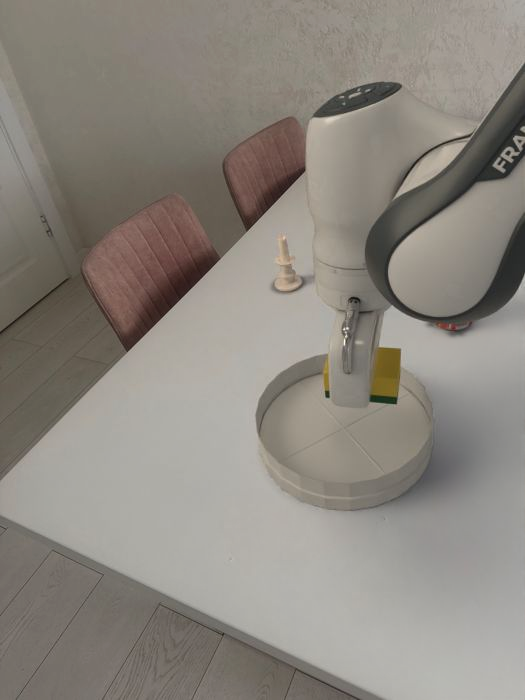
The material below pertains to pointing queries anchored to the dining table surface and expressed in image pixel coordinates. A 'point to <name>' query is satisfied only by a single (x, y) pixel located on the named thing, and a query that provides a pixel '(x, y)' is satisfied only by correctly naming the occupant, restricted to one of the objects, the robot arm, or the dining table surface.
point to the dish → (342, 440)
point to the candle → (286, 268)
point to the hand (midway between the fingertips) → (363, 375)
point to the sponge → (379, 376)
